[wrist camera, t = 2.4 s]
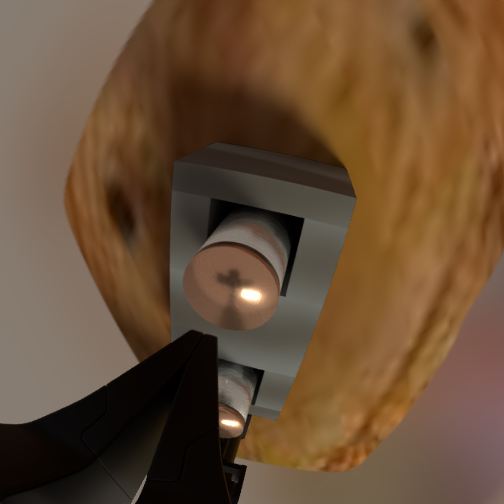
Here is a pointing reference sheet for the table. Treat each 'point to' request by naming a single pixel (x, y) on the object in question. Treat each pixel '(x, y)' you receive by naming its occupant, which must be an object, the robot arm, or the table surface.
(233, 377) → the rear peg
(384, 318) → the table surface
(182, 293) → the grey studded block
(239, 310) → the front peg
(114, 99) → the table surface
